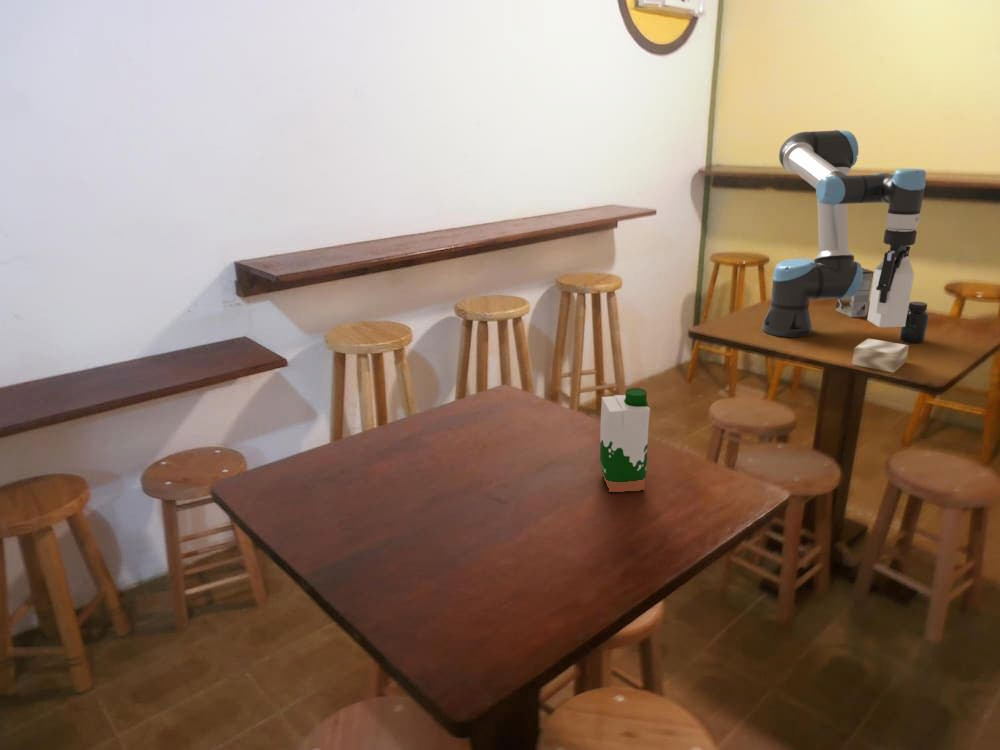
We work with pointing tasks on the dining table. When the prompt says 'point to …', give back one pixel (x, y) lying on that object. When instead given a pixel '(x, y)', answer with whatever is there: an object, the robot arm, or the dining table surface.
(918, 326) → the supplement bottle
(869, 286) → the coffee box
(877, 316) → the milk carton
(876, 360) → the pedestal
